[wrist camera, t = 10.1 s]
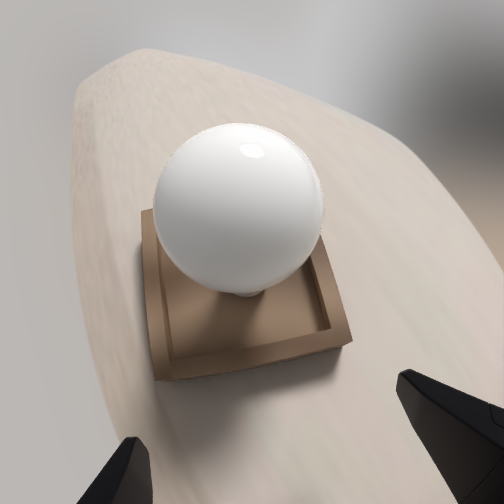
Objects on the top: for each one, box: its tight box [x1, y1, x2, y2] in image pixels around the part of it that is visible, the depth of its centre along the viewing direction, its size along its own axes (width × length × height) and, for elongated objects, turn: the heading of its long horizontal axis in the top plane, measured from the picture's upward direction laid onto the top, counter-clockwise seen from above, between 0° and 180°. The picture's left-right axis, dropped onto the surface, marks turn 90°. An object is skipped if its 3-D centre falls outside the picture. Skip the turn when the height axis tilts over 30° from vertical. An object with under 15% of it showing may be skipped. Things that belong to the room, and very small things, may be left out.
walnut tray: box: [141, 208, 353, 381], centre depth 18 cm, size 11×11×2 cm
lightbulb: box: [153, 123, 324, 297], centre depth 13 cm, size 6×6×11 cm
